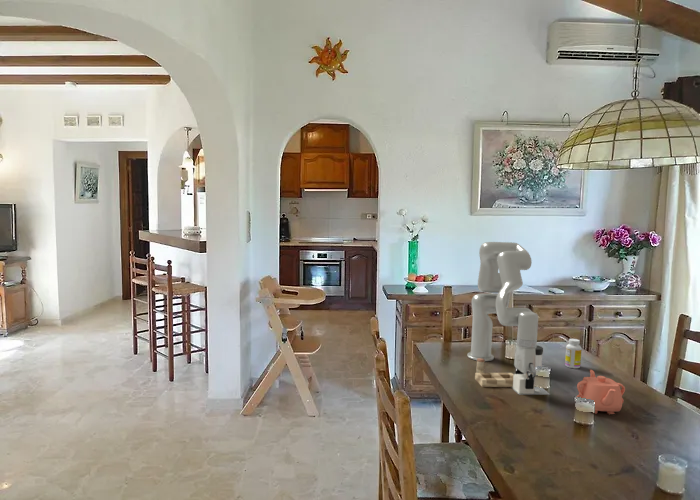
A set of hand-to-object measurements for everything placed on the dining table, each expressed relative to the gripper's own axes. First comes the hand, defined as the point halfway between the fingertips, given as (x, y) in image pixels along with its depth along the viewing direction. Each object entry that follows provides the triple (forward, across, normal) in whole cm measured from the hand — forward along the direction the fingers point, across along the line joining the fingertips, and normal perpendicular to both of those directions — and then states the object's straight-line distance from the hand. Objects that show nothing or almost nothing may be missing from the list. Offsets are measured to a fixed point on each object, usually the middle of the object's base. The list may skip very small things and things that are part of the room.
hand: (524, 384), depth 206 cm
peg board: (+3, -9, -8) cm, 12 cm away
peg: (+3, -16, -12) cm, 21 cm away
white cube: (+3, 0, 0) cm, 3 cm away
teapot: (+3, +18, +22) cm, 28 cm away
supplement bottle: (+3, -31, +38) cm, 49 cm away
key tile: (+3, 0, +3) cm, 4 cm away
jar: (+3, -22, +14) cm, 26 cm away
